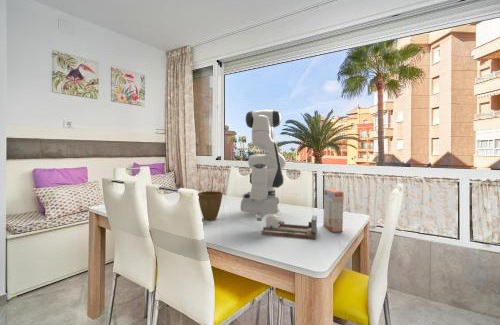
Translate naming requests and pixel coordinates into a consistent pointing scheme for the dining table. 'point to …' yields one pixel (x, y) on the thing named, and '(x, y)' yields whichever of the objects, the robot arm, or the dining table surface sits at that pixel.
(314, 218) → the grey long frame
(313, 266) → the dining table surface
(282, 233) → the gauge bench
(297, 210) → the dining table surface
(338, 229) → the cracker box
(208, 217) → the plant pot
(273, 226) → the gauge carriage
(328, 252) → the dining table surface
